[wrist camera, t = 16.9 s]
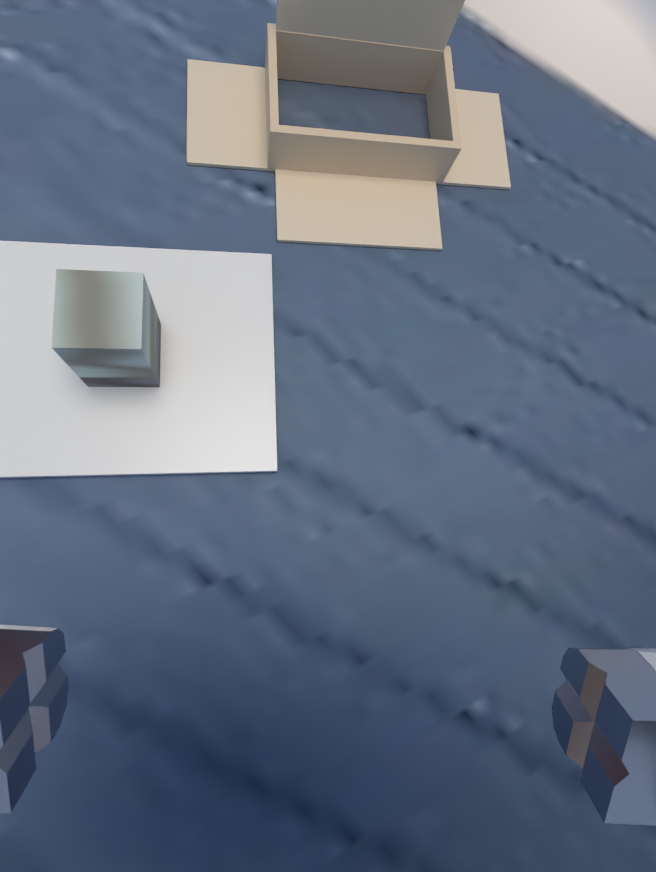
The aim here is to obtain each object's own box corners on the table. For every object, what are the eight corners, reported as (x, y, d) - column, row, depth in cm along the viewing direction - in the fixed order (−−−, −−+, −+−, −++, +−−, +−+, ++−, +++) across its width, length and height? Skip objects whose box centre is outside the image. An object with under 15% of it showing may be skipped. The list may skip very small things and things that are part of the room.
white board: (270, 258, 39) (271, 254, 38) (276, 471, 36) (277, 470, 35) (-26, 244, 35) (-30, 239, 35) (-49, 479, 32) (-54, 478, 32)
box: (161, 324, 36) (143, 272, 29) (159, 387, 35) (141, 349, 28) (91, 322, 35) (56, 269, 28) (88, 386, 34) (51, 347, 27)
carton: (496, 96, 46) (566, -24, 36) (517, 254, 43) (599, 169, 33) (187, 62, 41) (172, -87, 31) (186, 236, 38) (169, 131, 28)
